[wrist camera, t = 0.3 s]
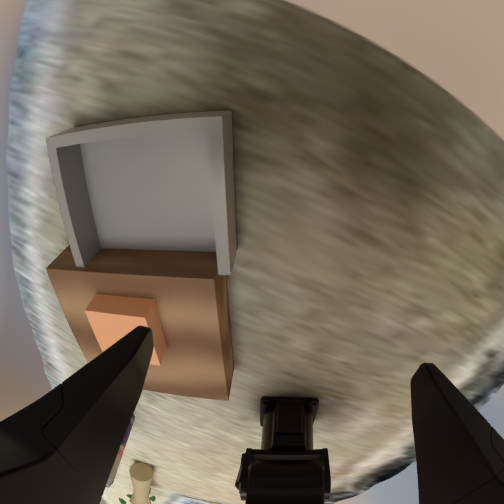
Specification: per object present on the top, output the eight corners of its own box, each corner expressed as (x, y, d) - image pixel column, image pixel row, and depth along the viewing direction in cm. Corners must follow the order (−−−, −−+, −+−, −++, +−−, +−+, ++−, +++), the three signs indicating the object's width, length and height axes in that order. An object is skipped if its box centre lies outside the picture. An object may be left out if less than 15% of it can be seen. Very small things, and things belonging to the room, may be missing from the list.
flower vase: (167, 441, 59) (159, 500, 69) (111, 436, 54) (119, 498, 65) (173, 485, 48) (165, 533, 59) (111, 482, 44) (121, 531, 55)
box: (237, 248, 24) (230, 275, 21) (96, 244, 25) (76, 267, 22) (231, 110, 19) (222, 116, 16) (73, 127, 20) (45, 138, 17)
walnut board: (233, 368, 31) (228, 400, 28) (110, 353, 32) (97, 380, 29) (223, 247, 24) (213, 279, 21) (70, 243, 25) (46, 268, 22)
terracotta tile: (167, 347, 24) (160, 365, 23) (113, 340, 25) (104, 356, 23) (154, 299, 22) (145, 317, 20) (96, 293, 22) (84, 310, 21)
